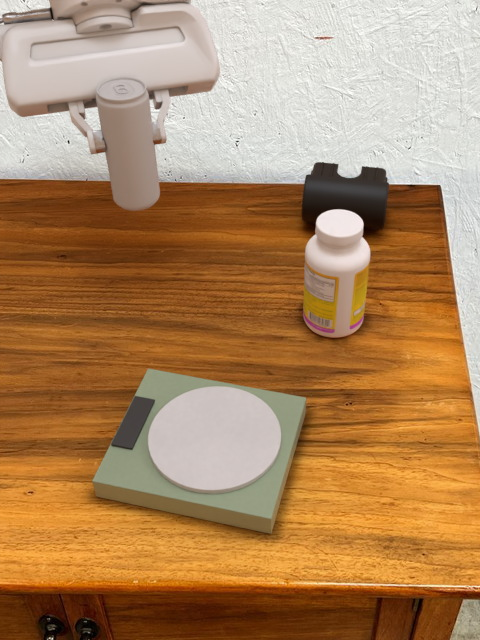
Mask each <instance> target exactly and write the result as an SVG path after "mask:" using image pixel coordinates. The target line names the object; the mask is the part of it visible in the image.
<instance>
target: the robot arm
mask: <svg viewBox="0 0 480 640" xmlns="http://www.w3.org/2000/svg"><path fill="white" fill-rule="evenodd" d="M48 1H49V6H50V7H45V8H38V9H37V8H36V9H31V10H27V11H22V12H21V11H19V12H16V11H10V12H9V11H8V12H5V13H3V14H1V17H0V62H1V66H2V68H1V69H2V77H3V84H4V89H5V95H6V99H7V103H8V107H9V108H10V110H12V112H14V113H15V114H16V115H17V116H19V118H20V117H21V118H27V117H34V116H41V115H49V114H55V113H57V114H58V113H64V112H69V117H70V121H71V123H72V124H73V125H74V126H75V127H76V128H77V130H78V131H79V132H80V133H81V134H82V136H84V137H85V138H86V140H87V144H88V148H89V149H88V150H89V152H90V155H97V154H103V153H104V154H105V152H106V146H105V141H104V140H103V134H102V130H101V129H97V130H94V129H93V128H92V127H91V126H90V124H89V123H88V122H87V121H86V119H87V118H86V109H94V108H97V102H96V95H97V92H96V89H97V86H98V85H99V84H100V83H102V82H103V81H105V80H108V79H111V78H116V77H132V78H136V79H139V80H141V81H143V82H144V83H145V85H146V90H147V91H148V94H149V101H151V100H152V103H153V107H154V108H153V109H154V110H156V111H157V110H159V111H158V115H157V119H156V121H152V127H153V142H154V144H155V146H156V145H164V144H167V141H168V140H167V139H168V138H167V133H166V127H165V120H166V118H167V114H168V112H169V108H170V105H171V98H173V97H180V96H189V95H194V94H195V95H196V94H202V93H209V92H211V91H212V90H213V89H214V87H215V86H216V84H217V83H218V81H219V78H220V74H221V67H220V65H221V64H220V62H219V56H218V53H217V50H216V46H215V42H214V40H213V37H212V33H211V31H210V28H209V25H208V23H207V20H206V19H205V17H204V15H203V13H202V12H201V11H200V10H199V9H198V8H197V6H195V5H192V0H48Z"/></svg>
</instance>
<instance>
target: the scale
mask: <svg viewBox="0 0 480 640" xmlns="http://www.w3.org/2000/svg"><path fill="white" fill-rule="evenodd" d="M306 413H307V397H305V396H299V395H295V394H294V395H293V394H289V393H284V392H278V391H273V390H267V389H263V388H257V387H252V386H245V385H240V384H235V383H230V382H224V381H218V380H214V379H208V378H202V377H199V376H198V377H197V376H191V375H186V374H180V373H175V372H169V371H165V370H159V369H155V368H147V370H146V371H145V373H144V376H143V378H142V380H141V382H140V383H139V386H138V388H137V390H136V392H135V394H134V395H133V398H132V399H131V402H130V404H129V406H128V408H127V409H126V412H125V413H124V416H123V418H122V419H121V421H120V423H119V426H118V428H117V429H116V432H115V434H114V436H113V438H112V440H111V442H110V444H109V446H108V448H107V450H106V452H105V454H104V456H103V458H102V460H101V462H100V464H99V466H98V468H97V470H96V471H95V474H94V476H93V478H92V482H91V483H92V485H93V489H94V493H95V496H96V497H97V498H101V499H106V500H110V501H115V502H121V503H125V504H129V505H133V506H138V507H144V508H148V509H153V510H158V511H162V512H166V513H171V514H175V515H181V516H184V517H189V518H194V519H200V520H204V521H208V522H212V523H213V522H214V523H218V524H222V525H227V526H232V527H236V528H242V529H244V530H245V529H247V530H250V531H255V532H260V533H265V534H269V535H271V534H272V533H273V530H274V527H275V523H276V519H277V516H278V513H279V509H280V505H281V502H282V498H283V495H284V491H285V488H286V484H287V480H288V478H289V473H290V470H291V468H292V467H291V466H292V463H293V460H294V456H295V452H296V450H297V446H298V442H299V438H300V435H301V432H302V428H303V425H304V424H303V423H304V422H305V418H306Z"/></svg>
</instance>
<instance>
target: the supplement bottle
mask: <svg viewBox="0 0 480 640" xmlns="http://www.w3.org/2000/svg"><path fill="white" fill-rule="evenodd" d="M363 226H364V224H363V220H362V219H361V217H359V216H358V215H357V214H355V213H354V212H351V211H348V210H342V209H335V210H329V211H326V212H324V213H322V214H321V215H319V217H318V218H317V220H316V224H315V229H314V232H315V234H314V235H313V236H311V238H309V240H308V242H307V243H306V245H305V248H304V271H303V272H304V275H303V298H302V299H303V301H302V303H303V304H302V305H303V306H302V313H303V315H302V317H303V320H304V323H305V325H306V326H307V327H308V328H309V329H310V330H311V331H312V332H313V333H315V334H317V335H318V336H322V337H325V338H335V339H337V338H344V337H347V336H350V335H352V334H354V333H355V332H357V331H358V330H359V329H360V327H361V326H362V325H363V323H364V319H365V318H364V317H365V312H366V311H365V309H366V300H367V291H368V283H369V273H370V263H371V248H370V245H369V243H368V242H367V240H366V239H365V237H363V235H364V229H363Z"/></svg>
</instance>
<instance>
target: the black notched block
mask: <svg viewBox="0 0 480 640" xmlns="http://www.w3.org/2000/svg"><path fill="white" fill-rule="evenodd" d="M338 170H339V163H335V162H324V161H322V162H321V161H317V162H315V163H314V164H313V168H312V170H311V171H310V174H306V175H305V178H304V182H303V183H304V184H303V190H302V200H301V220H302V221H303V222H304V223H307V224H311V225H316V220H317V218H318V217H319V215H321V214H322V213H324V212H326V211H329V210H335V209H342V210H348V211H351V212H354V213H355V214H357V215H358V216H359V217H361V219H362V220H363V224H364V226H363V230H370V231H381V230H383V229H385V221H386V213H387V207H388V206H387V205H388V199H389V190H390V183H389V182H388V177H387V170H386V169H385V168H382V167H379V166H377V167H373V166H367V165H366V166H365V165H364V166H363V165H362V166H361V169H360V174H359V175H357V176H355V177H346V176H342V175H340V174H339V172H338Z"/></svg>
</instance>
